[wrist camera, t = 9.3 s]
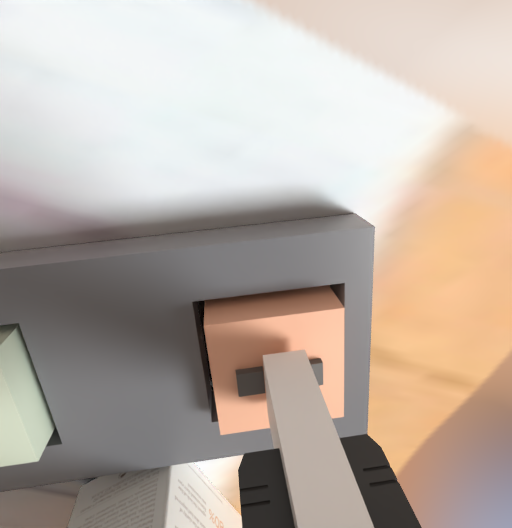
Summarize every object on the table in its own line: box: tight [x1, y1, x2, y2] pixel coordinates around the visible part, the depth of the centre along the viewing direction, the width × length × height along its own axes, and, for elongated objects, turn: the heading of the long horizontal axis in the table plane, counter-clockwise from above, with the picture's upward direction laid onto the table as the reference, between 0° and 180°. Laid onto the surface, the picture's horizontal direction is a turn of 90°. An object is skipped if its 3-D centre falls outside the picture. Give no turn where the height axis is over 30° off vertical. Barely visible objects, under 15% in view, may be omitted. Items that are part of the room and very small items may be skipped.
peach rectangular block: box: [204, 285, 344, 435], centre depth 16 cm, size 5×5×3 cm
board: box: [0, 214, 375, 492], centre depth 16 cm, size 20×10×2 cm, turn 94°
